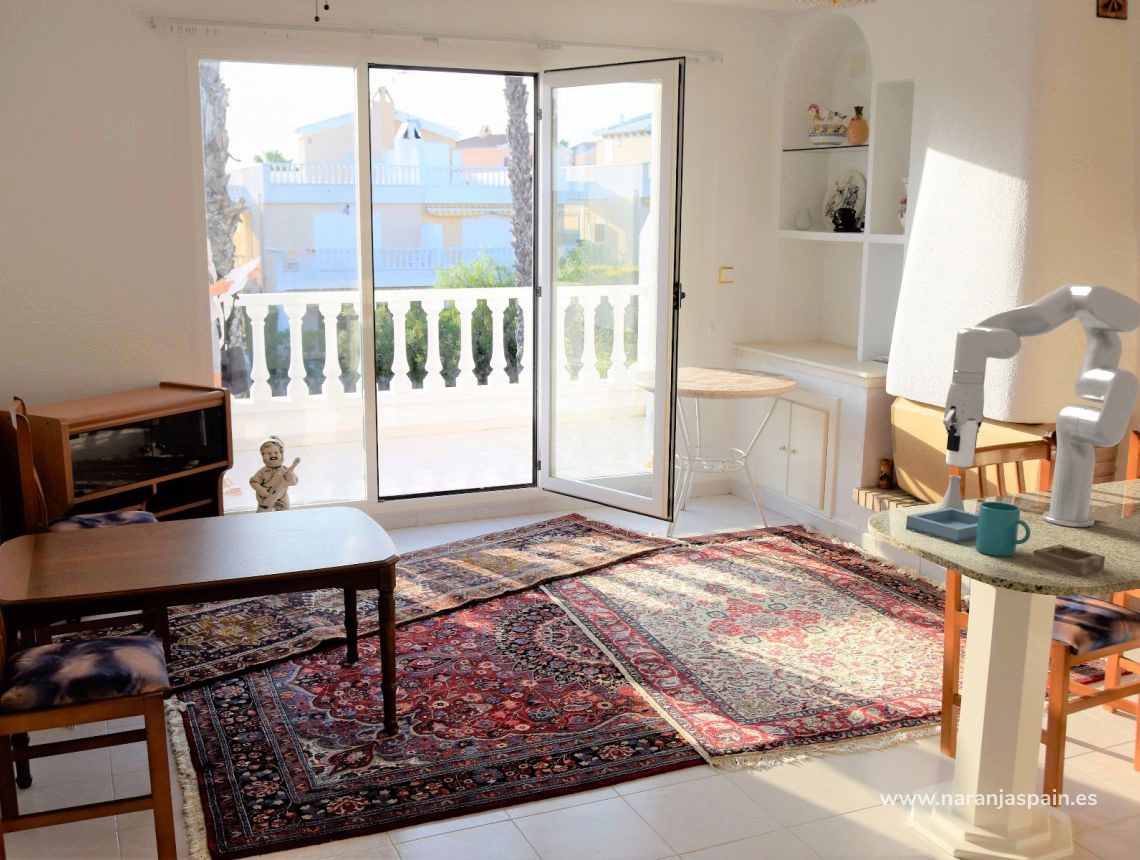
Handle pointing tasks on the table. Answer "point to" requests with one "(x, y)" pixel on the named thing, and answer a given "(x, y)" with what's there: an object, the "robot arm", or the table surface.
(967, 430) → the can
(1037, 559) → the holder
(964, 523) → the tray
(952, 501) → the flask
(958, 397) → the robot arm
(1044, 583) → the table surface
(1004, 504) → the cup
